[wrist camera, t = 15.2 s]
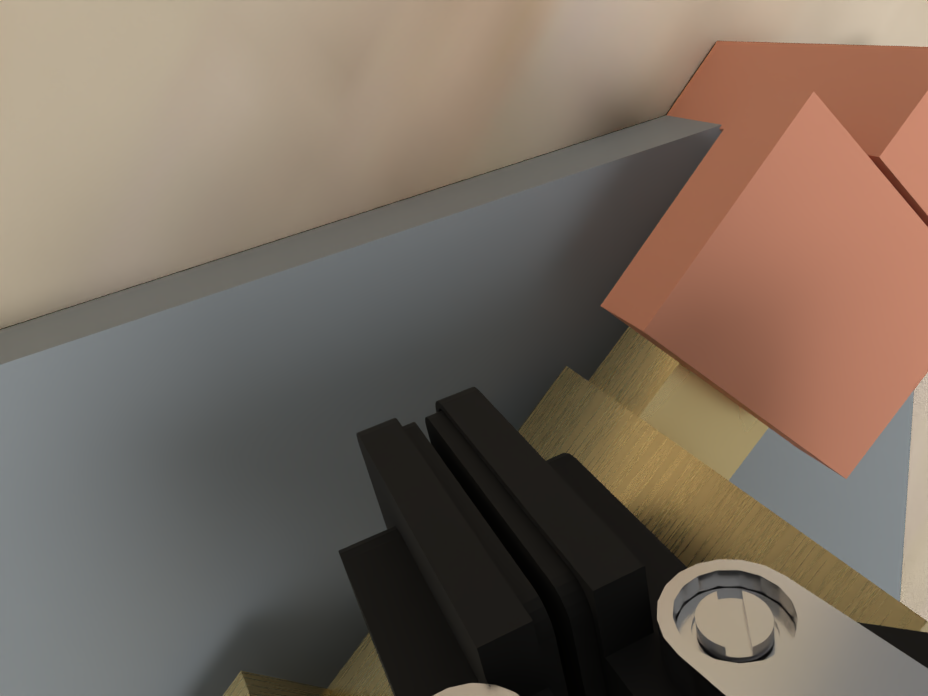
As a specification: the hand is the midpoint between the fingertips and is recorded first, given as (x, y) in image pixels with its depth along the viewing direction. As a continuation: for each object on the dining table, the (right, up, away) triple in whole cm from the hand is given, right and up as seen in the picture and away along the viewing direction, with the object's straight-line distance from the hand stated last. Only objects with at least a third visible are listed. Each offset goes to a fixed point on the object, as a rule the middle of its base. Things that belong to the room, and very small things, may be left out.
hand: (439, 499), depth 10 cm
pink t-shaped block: (+4, +4, +4) cm, 7 cm away
